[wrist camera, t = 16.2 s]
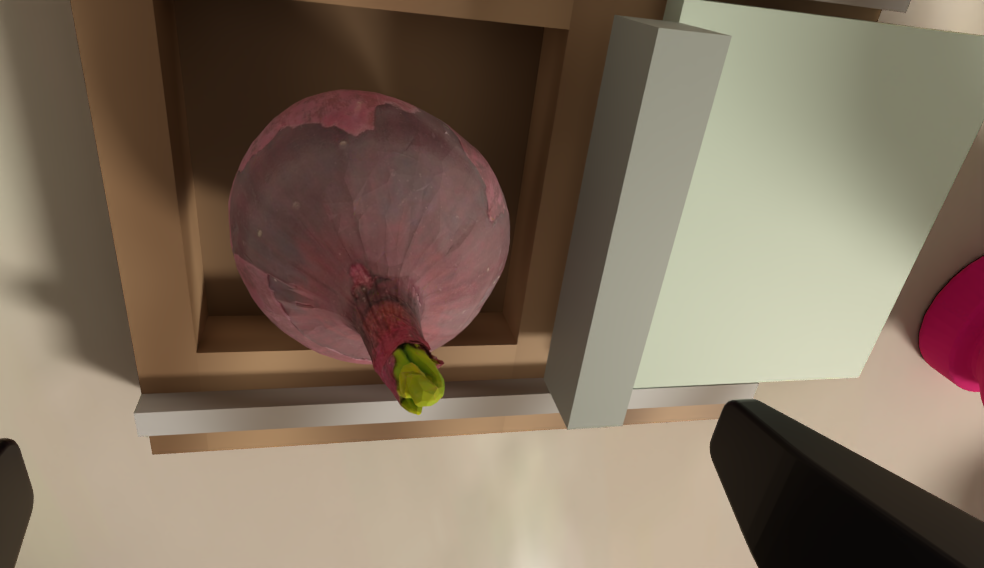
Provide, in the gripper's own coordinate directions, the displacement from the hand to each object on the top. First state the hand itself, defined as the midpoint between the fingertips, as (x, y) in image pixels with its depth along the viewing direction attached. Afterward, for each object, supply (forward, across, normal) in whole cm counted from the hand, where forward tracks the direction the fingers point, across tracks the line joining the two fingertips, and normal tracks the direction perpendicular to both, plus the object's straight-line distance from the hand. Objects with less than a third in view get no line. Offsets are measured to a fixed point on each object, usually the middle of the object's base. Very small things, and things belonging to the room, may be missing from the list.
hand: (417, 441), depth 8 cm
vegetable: (+11, 0, 0) cm, 11 cm away
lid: (+9, -11, 0) cm, 14 cm away
